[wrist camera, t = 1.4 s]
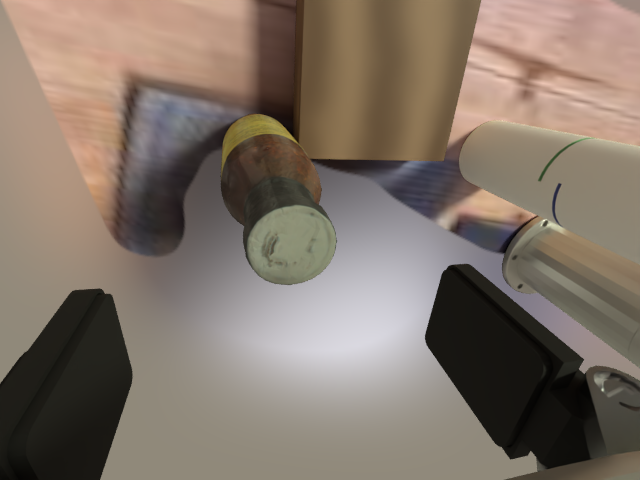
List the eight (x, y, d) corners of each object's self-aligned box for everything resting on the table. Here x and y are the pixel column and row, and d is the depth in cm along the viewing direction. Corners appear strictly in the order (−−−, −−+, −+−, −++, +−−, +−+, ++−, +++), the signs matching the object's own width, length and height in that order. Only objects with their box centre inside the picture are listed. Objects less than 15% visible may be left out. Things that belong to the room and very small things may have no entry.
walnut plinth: (456, -11, 29) (486, -22, 25) (423, 152, 35) (443, 161, 31) (297, -34, 26) (306, -51, 22) (292, 149, 32) (298, 158, 28)
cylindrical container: (454, 188, 38) (747, 348, 16) (464, 123, 34) (851, 212, 13) (509, 181, 39) (852, 320, 17) (523, 117, 35) (972, 189, 14)
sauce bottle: (209, 146, 30) (167, 247, 13) (256, 96, 29) (279, 131, 12) (262, 193, 33) (286, 326, 16) (306, 149, 32) (383, 240, 15)
